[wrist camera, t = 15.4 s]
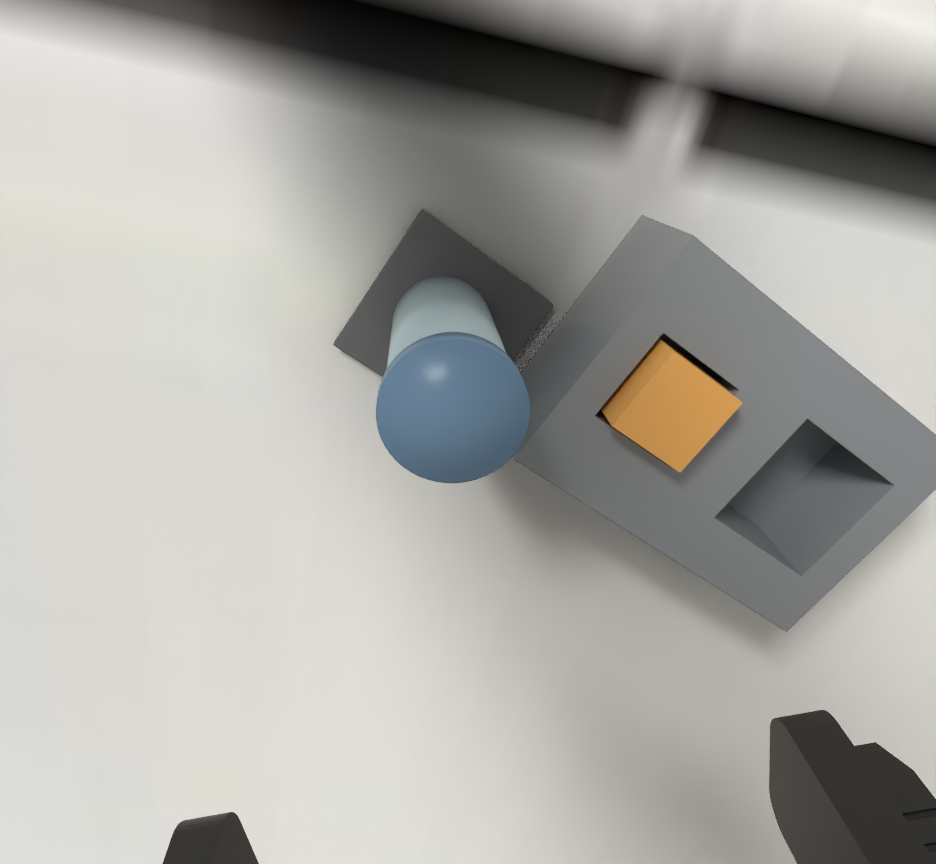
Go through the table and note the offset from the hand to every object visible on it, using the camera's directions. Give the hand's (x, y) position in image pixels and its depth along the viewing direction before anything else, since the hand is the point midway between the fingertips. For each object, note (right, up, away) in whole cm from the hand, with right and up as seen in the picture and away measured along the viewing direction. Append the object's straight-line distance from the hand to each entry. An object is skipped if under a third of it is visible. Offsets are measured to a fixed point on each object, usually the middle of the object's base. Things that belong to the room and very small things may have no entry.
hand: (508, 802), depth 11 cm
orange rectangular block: (+8, +8, +24) cm, 27 cm away
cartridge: (-2, +11, +25) cm, 28 cm away
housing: (+12, +7, +28) cm, 32 cm away
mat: (-2, +11, +26) cm, 28 cm away
